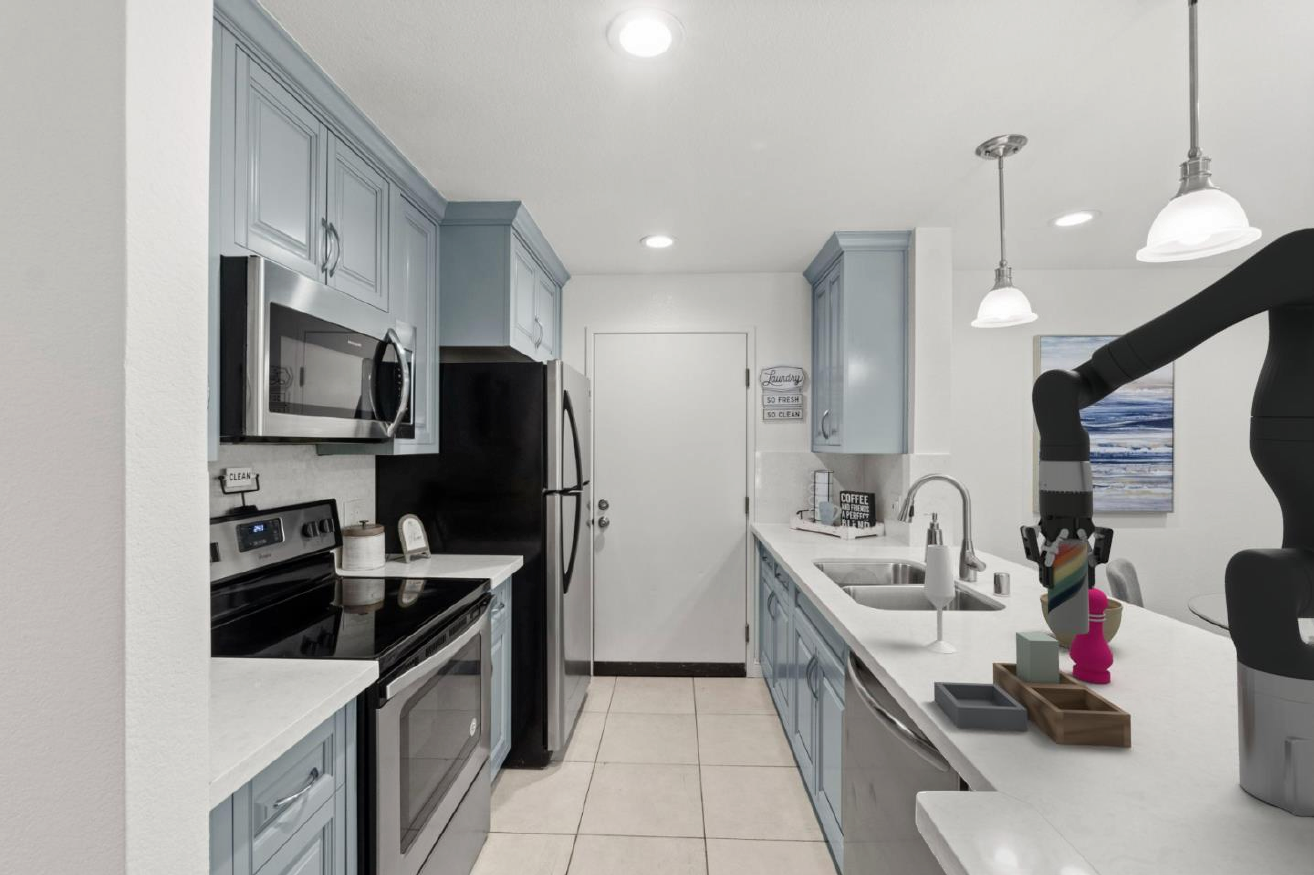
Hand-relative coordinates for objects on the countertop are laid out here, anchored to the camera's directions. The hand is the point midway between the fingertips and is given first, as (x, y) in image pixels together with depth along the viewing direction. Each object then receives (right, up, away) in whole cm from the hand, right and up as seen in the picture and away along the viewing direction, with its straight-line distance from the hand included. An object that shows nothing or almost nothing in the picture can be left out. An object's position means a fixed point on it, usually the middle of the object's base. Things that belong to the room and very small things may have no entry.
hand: (1067, 587), depth 100 cm
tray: (-13, -24, +5) cm, 27 cm away
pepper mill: (+20, -24, +22) cm, 38 cm away
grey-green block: (+2, -24, +10) cm, 26 cm away
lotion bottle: (0, -7, 0) cm, 7 cm away
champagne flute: (-3, -25, +40) cm, 47 cm away
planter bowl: (+32, -24, +41) cm, 58 cm away
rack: (+1, -24, +5) cm, 24 cm away
